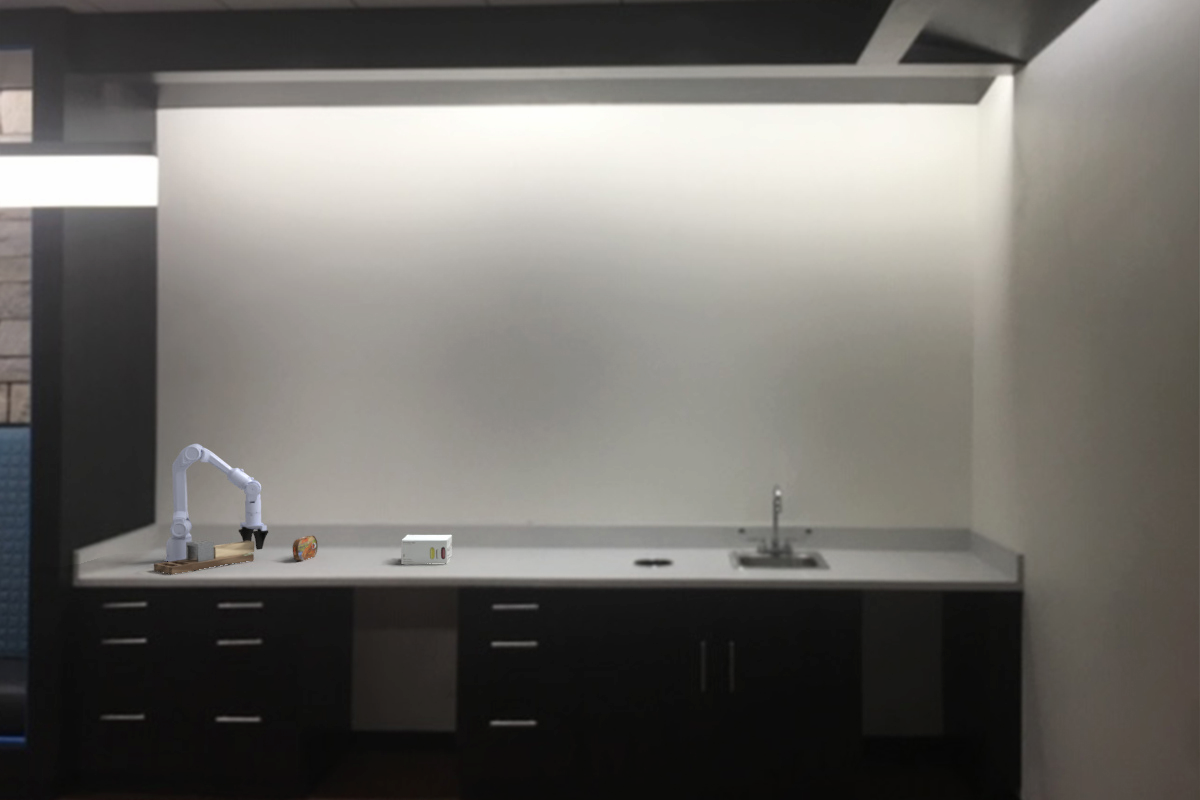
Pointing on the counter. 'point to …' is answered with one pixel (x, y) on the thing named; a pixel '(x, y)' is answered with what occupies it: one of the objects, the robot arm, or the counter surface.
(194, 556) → the metal u-shaped holder
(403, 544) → the supplement box
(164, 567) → the walnut deck
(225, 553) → the ash block
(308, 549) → the tin
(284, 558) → the counter surface
